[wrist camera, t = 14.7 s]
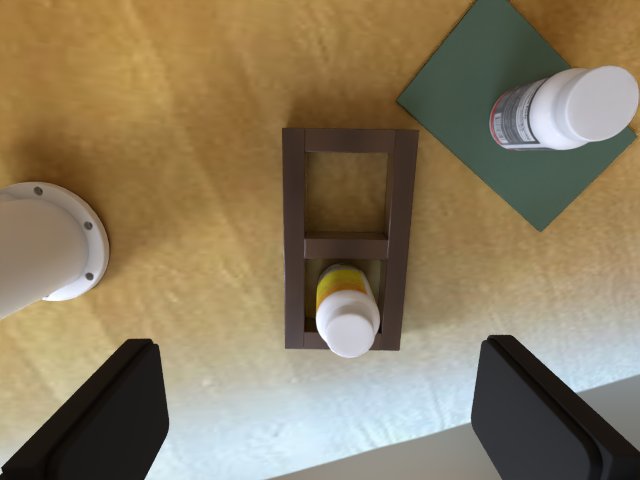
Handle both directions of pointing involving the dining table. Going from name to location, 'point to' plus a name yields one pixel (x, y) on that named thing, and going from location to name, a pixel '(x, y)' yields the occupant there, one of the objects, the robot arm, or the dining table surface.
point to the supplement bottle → (346, 310)
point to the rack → (347, 244)
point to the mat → (479, 99)
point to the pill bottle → (565, 109)
